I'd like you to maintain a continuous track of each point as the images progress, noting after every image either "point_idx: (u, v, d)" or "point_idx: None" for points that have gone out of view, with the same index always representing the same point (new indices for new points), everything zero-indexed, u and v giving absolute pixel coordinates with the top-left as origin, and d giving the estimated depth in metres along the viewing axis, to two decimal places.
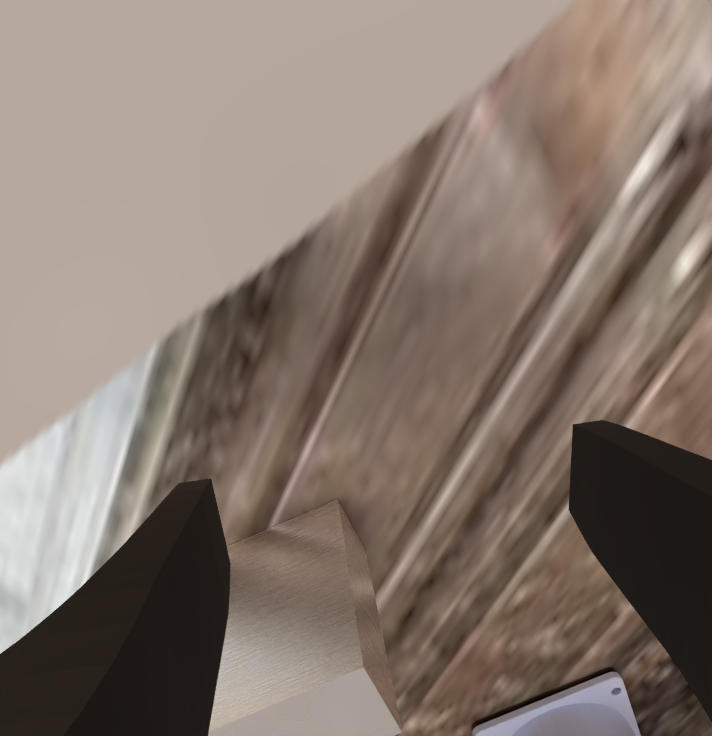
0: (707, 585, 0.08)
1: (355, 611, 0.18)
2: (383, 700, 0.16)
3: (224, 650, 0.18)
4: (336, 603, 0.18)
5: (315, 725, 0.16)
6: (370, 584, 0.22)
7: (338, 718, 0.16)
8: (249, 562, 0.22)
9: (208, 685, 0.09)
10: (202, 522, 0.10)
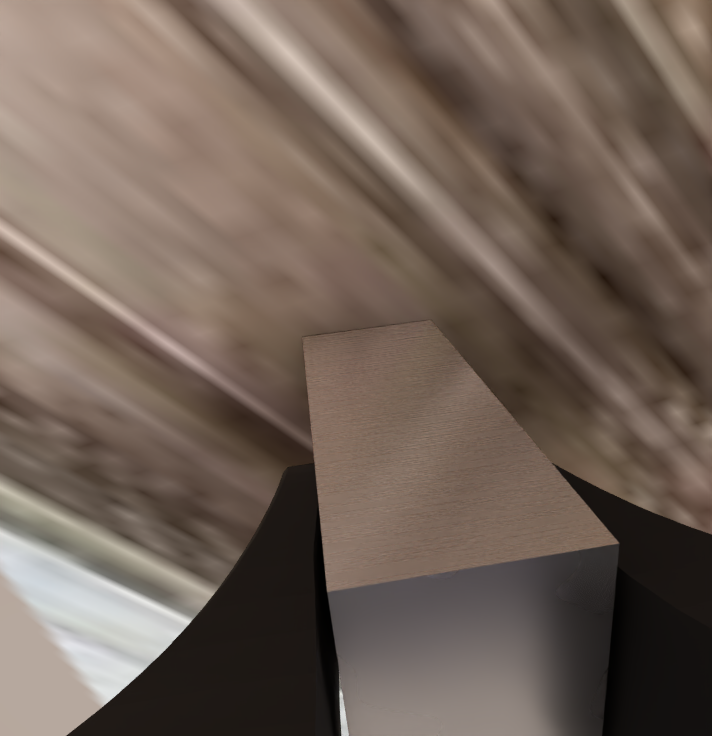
0: None
1: (321, 476, 0.08)
2: (477, 564, 0.06)
3: None
4: None
5: (468, 713, 0.06)
6: (442, 354, 0.11)
7: (473, 669, 0.06)
8: None
9: (336, 663, 0.09)
10: None
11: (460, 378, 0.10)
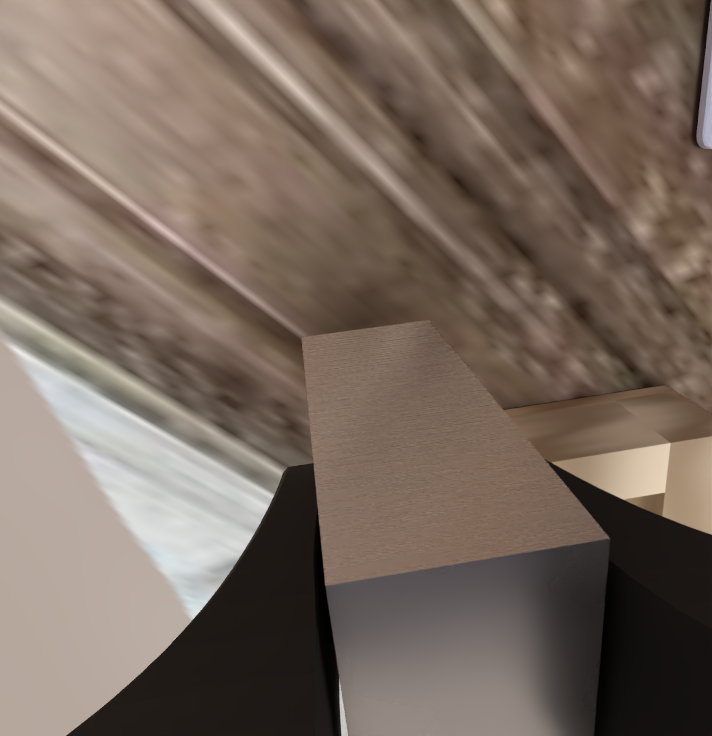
0: None
1: (319, 474, 0.08)
2: (471, 559, 0.06)
3: None
4: None
5: (463, 706, 0.07)
6: (439, 354, 0.11)
7: (468, 662, 0.06)
8: None
9: (336, 663, 0.09)
10: None
11: (457, 378, 0.10)
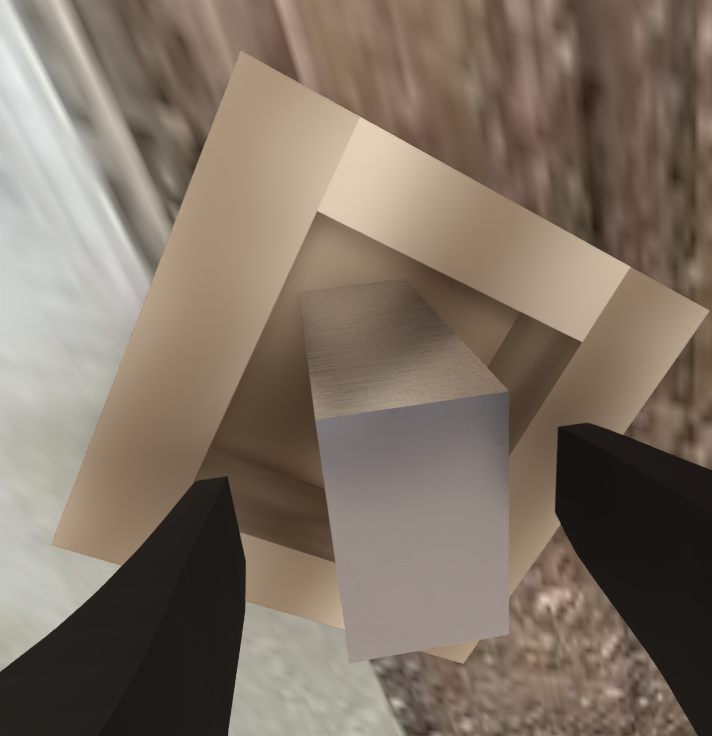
0: (686, 589, 0.08)
1: (312, 368, 0.10)
2: (414, 404, 0.09)
3: None
4: None
5: (413, 519, 0.09)
6: (409, 299, 0.14)
7: (415, 483, 0.09)
8: None
9: (228, 682, 0.09)
10: (220, 519, 0.10)
11: (421, 313, 0.13)
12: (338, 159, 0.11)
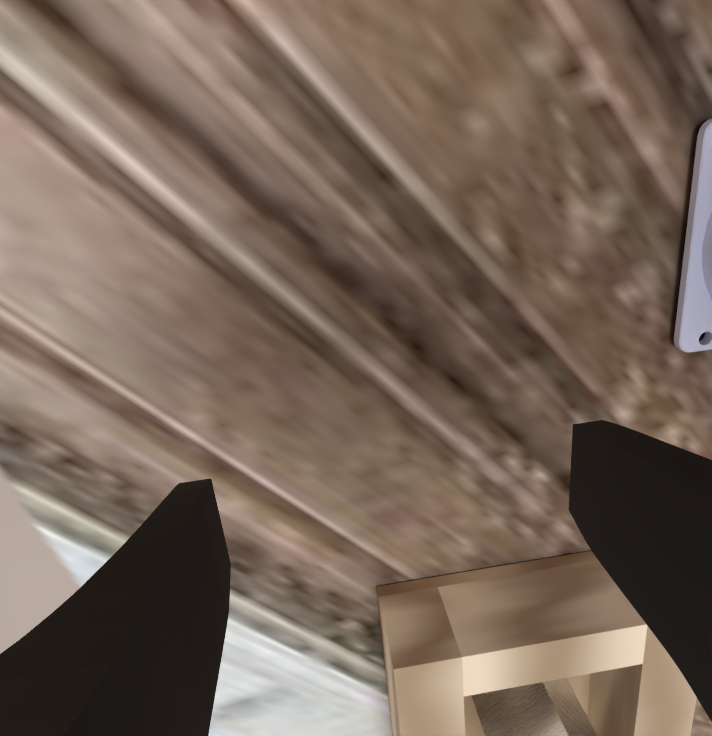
0: (707, 585, 0.08)
1: None
2: None
3: None
4: None
5: None
6: None
7: None
8: None
9: (208, 685, 0.09)
10: (202, 522, 0.10)
11: (542, 700, 0.22)
12: (461, 675, 0.21)
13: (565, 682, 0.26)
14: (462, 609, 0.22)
